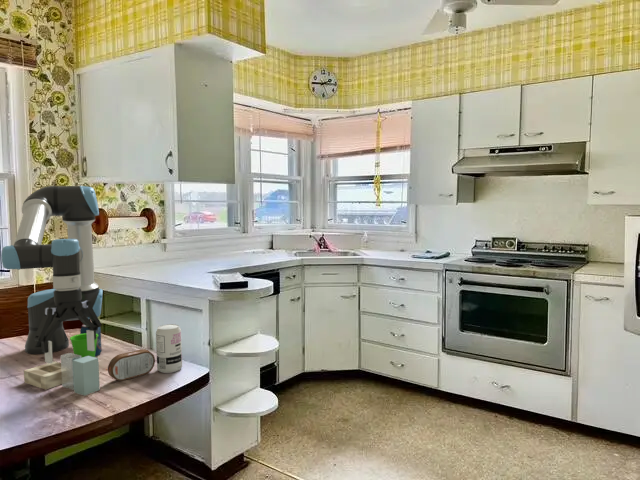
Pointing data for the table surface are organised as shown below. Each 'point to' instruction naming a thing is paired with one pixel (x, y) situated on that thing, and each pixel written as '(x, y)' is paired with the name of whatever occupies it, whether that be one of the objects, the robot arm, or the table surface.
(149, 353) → the tin
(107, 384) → the table surface
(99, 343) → the soda can
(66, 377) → the grey rectangular block
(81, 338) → the cup
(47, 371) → the slotted holder
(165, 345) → the supplement can
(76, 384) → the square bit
